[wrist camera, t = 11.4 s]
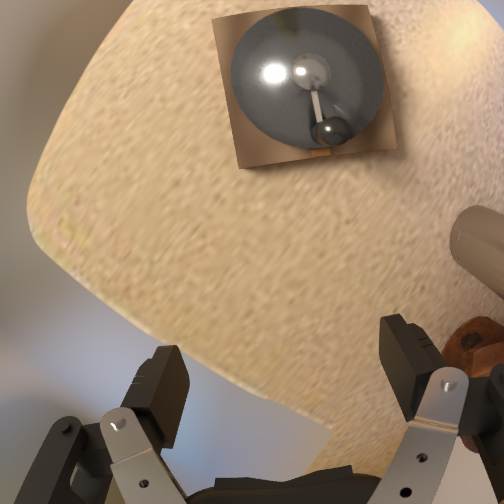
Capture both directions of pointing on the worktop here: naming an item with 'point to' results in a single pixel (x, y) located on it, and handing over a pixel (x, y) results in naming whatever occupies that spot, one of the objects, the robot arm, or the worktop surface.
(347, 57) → the handwheel
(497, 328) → the chocolate muffin
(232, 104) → the wheel stand
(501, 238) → the robot arm
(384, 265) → the worktop surface
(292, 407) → the worktop surface
